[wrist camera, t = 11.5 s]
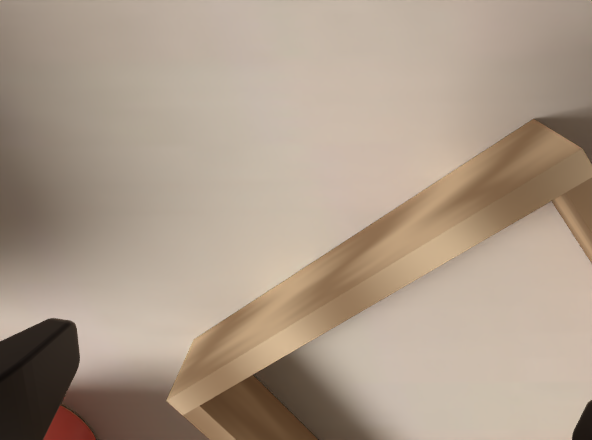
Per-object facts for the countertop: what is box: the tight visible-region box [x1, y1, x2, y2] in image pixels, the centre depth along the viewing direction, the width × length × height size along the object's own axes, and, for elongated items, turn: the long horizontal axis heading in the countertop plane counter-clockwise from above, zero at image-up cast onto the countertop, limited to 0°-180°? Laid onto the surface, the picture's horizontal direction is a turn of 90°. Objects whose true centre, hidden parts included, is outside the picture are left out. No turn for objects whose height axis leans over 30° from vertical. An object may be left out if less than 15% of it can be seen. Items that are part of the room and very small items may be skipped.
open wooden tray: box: [166, 119, 592, 440], centre depth 21 cm, size 18×18×4 cm
